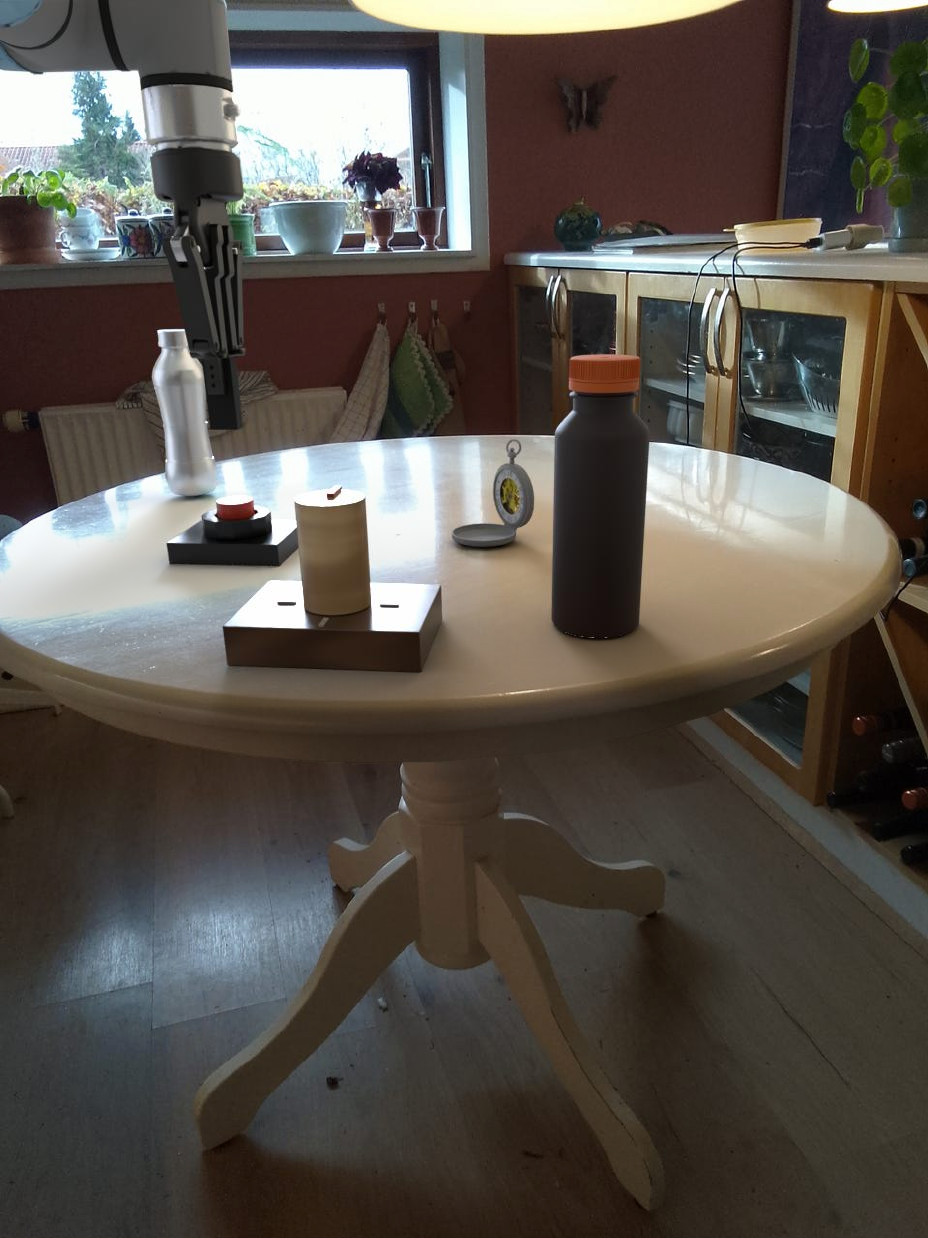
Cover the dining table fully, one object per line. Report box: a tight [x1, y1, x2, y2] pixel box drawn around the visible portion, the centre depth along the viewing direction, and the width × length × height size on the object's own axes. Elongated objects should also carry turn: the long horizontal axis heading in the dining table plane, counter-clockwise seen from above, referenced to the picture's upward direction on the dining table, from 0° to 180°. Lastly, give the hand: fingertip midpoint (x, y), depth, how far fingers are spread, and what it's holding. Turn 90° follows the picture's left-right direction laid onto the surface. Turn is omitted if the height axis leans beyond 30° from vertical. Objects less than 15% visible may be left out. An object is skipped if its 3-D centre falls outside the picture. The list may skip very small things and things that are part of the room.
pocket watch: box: [451, 438, 535, 548], centre depth 90 cm, size 8×8×10 cm
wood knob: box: [293, 485, 372, 615], centre depth 64 cm, size 5×5×8 cm
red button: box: [215, 495, 255, 519], centre depth 88 cm, size 4×4×2 cm
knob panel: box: [222, 580, 443, 673], centre depth 67 cm, size 14×10×3 cm
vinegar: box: [550, 353, 651, 639], centre depth 66 cm, size 7×7×20 cm
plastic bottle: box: [151, 328, 219, 497], centre depth 110 cm, size 6×7×20 cm
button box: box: [166, 505, 299, 568], centre depth 89 cm, size 11×9×4 cm
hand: (226, 428), depth 85 cm, fingers closed
